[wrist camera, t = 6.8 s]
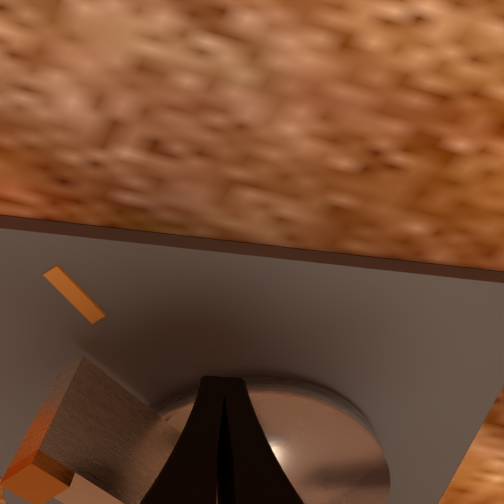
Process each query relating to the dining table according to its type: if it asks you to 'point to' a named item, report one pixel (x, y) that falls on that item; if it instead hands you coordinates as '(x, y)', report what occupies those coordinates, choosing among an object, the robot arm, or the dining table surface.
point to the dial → (169, 430)
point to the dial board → (254, 332)
